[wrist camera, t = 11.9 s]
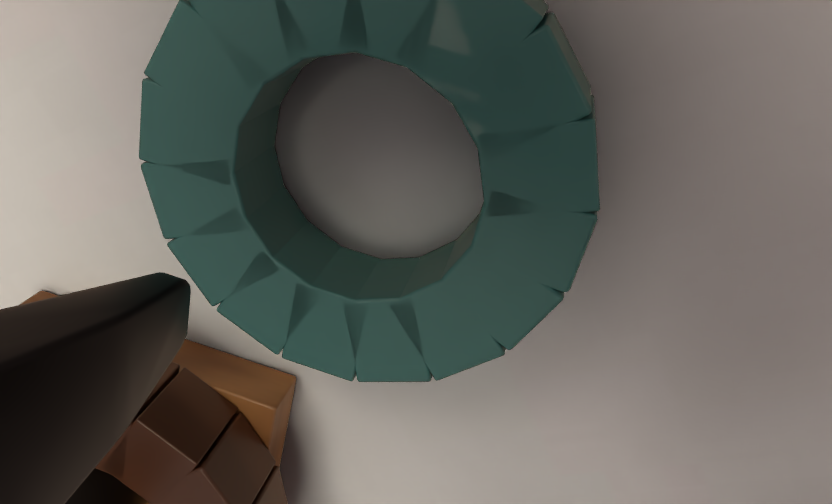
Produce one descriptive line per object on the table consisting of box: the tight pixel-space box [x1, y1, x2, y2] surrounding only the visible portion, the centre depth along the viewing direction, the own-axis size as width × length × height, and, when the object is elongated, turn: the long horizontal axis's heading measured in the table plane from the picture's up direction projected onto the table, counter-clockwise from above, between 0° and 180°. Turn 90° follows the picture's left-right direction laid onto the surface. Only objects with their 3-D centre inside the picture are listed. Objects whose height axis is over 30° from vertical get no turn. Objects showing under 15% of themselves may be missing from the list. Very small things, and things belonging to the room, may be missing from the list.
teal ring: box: [139, 0, 600, 382], centre depth 15 cm, size 10×10×2 cm
